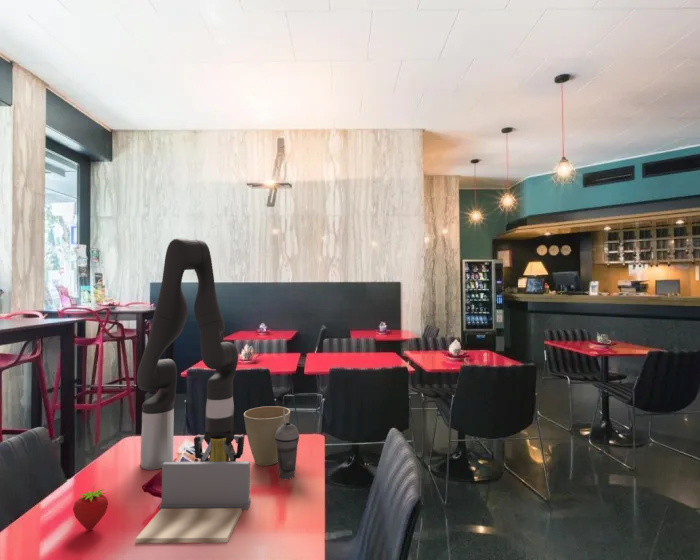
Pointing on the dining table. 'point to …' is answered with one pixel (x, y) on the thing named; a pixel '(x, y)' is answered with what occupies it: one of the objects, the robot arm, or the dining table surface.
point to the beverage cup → (286, 449)
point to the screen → (205, 485)
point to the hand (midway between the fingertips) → (219, 472)
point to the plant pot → (264, 432)
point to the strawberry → (90, 508)
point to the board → (190, 526)
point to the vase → (218, 451)
